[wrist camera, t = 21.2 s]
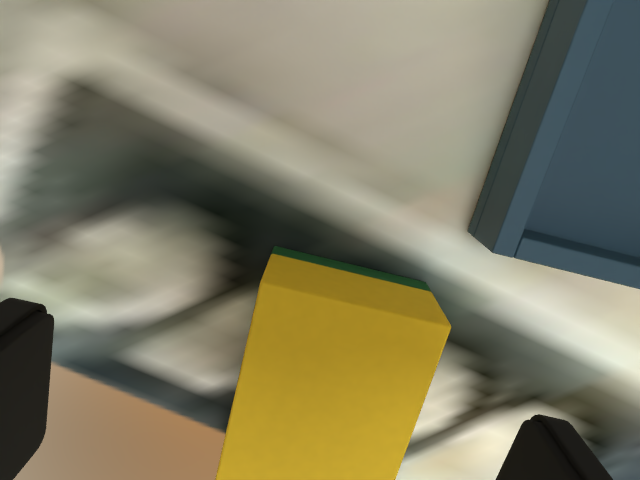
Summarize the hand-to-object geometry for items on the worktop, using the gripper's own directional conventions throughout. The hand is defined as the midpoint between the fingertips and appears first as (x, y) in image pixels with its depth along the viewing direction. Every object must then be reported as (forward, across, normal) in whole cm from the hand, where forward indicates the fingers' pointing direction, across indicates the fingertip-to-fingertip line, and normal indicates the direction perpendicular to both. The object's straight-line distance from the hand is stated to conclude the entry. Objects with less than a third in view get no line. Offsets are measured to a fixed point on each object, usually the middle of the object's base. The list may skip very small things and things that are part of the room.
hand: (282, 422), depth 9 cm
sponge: (+10, -2, +5) cm, 11 cm away
